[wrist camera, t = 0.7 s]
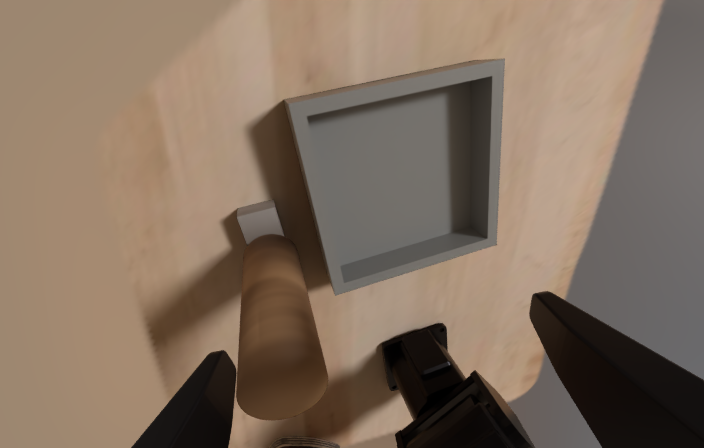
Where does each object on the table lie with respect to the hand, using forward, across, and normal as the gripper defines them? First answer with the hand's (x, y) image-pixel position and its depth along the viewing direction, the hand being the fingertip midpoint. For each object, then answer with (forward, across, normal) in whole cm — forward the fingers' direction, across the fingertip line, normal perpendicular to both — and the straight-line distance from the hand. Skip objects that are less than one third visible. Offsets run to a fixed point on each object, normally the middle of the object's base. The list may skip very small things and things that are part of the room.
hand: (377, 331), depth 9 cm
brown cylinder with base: (+13, +7, +5) cm, 16 cm away
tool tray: (+15, -3, +2) cm, 16 cm away
